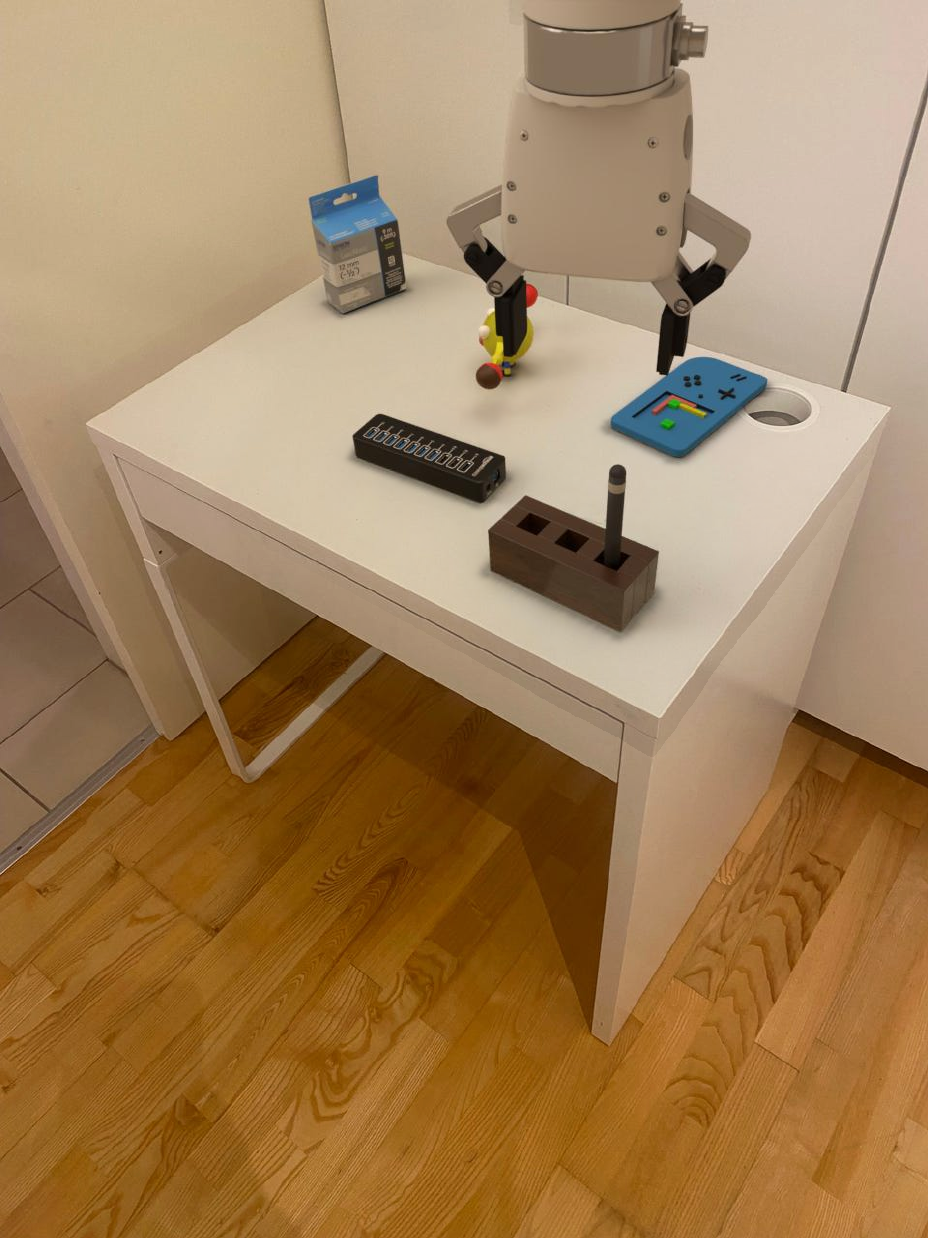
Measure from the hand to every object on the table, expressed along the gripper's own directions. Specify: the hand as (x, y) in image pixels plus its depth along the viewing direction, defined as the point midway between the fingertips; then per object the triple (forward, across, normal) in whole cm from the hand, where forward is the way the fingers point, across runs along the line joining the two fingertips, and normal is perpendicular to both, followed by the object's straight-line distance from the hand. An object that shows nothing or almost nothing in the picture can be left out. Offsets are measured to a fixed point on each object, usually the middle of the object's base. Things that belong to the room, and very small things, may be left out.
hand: (589, 354), depth 60 cm
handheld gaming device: (+22, -4, -28) cm, 36 cm away
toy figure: (+22, +15, -30) cm, 40 cm away
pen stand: (+22, +1, -2) cm, 22 cm away
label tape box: (+22, +36, -42) cm, 59 cm away
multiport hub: (+22, +18, -13) cm, 31 cm away
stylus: (+22, -2, 0) cm, 22 cm away
